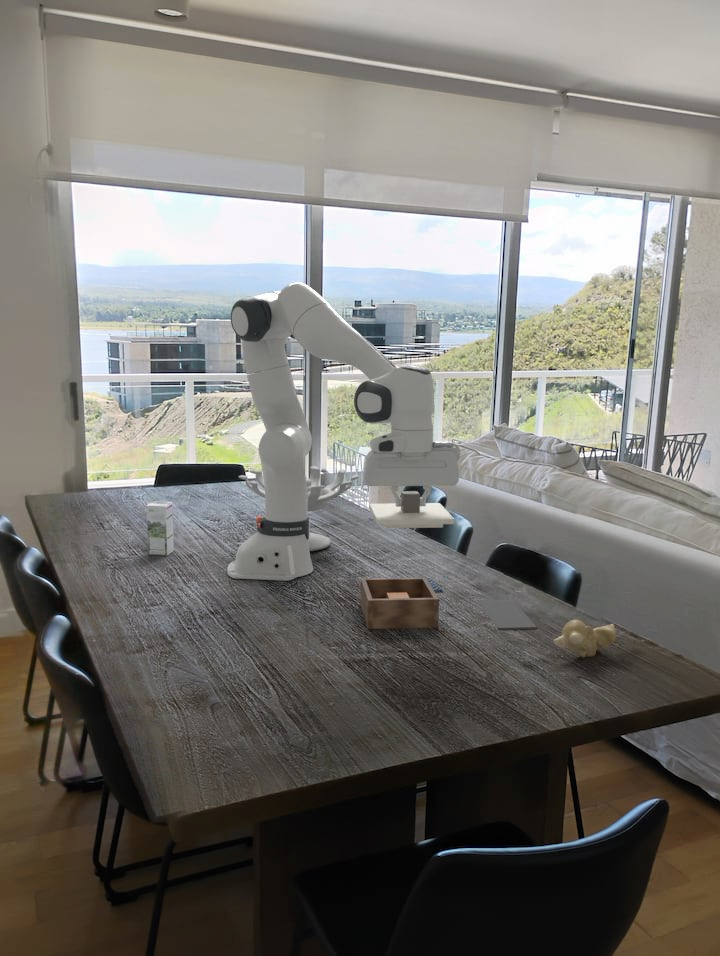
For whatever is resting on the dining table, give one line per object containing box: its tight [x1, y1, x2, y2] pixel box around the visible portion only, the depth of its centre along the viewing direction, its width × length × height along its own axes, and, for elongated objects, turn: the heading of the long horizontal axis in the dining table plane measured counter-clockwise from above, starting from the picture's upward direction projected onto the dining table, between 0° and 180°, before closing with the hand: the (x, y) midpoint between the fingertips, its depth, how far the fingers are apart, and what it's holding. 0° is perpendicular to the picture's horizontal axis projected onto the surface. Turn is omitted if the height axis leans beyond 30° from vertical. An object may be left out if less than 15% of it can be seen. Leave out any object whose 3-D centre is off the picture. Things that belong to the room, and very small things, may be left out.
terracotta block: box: [387, 592, 409, 599], centre depth 171 cm, size 4×4×4 cm
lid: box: [368, 490, 456, 529], centre depth 167 cm, size 16×16×6 cm
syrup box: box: [146, 500, 175, 557], centre depth 218 cm, size 6×6×14 cm
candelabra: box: [238, 465, 360, 552], centre depth 228 cm, size 34×35×27 cm
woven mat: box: [427, 577, 444, 593], centre depth 191 cm, size 10×11×2 cm
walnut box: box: [359, 577, 440, 630], centre depth 170 cm, size 15×15×7 cm
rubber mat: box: [476, 598, 538, 631], centre depth 175 cm, size 18×18×1 cm
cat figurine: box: [553, 619, 617, 659], centre depth 153 cm, size 8×7×12 cm
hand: (410, 506), depth 167 cm, fingers closed on lid, 3 cm apart
